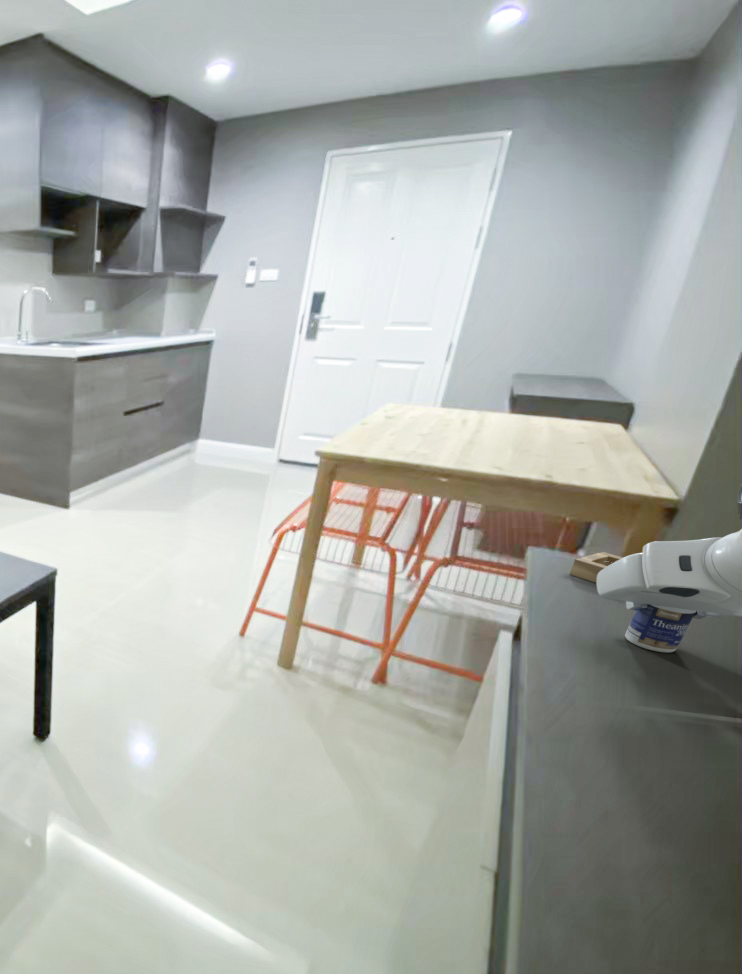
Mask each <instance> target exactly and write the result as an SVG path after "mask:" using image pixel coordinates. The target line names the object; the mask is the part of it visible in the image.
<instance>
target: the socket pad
mask: <svg viewBox="0 0 742 974" xmlns="http://www.w3.org/2000/svg"><path fill="white" fill-rule="evenodd" d="M622 558H624V557H622V556H619V555H615V554H612V553H609V552H605V551H601V552H597V553H594V554H589V555H586V556H581V557H579V558H575V559H574V560H573V564H572V567H571V569H570V572H569V575H570V576H572V577H573V576H574V577H576V578H580V579H583V580H586V581H589V582H592V583H595V584H597V582H596V580H597V574H598V573H599V572H600V571H601V570H602V569H604V568H606V567H607V566H609V565H610V564H612V563H614V562H616V561H618V560H620V559H622ZM604 561H609V562H604ZM611 562H612V563H611Z"/></svg>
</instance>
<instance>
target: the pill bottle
mask: <svg viewBox="0 0 742 974" xmlns="http://www.w3.org/2000/svg"><path fill="white" fill-rule="evenodd" d="M647 606H648V608H646V609H644V610H642V611H637V610H635V612H634V614H633V616H632V618H631V621H630V623H629V625H628V627H627V630H626V632H625V634H624V637H625V639H626V640H627V641H629V642H630V643H631V644H633V645H635V646H636V647H639V648H642V649H645V650H649V651H654V652H657V653H658V652H659V653H673V652H676V650H677V649H678V648H679V646H680V643H681V641H682V639H683V637H684V636H685V634H686V632H687V630H688V628H689V626H690V624H691V622H692V620H693V619H694V618H693V616H694V614H695V613H696V611H695V610H687V609H680V608H672V607H665V606H657V605H650V604H647Z"/></svg>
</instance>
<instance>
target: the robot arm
mask: <svg viewBox="0 0 742 974" xmlns="http://www.w3.org/2000/svg"><path fill="white" fill-rule="evenodd" d="M736 504H737V505H736V506H737V513H738V518H739V520H740V522H742V483H740V486H739V488H738V491H737V494H736ZM596 582H597V583H596V592H597V594H598V596H599V597H601V598H602V599H606V600H613V601H621V602H625V606H626V609H627V610H630V611H636V610H637V611H642V610H644V609H646V608H648V606H647V604H650V605H657V606H665V607H672V608H680V609H687V610H695V611H696V613H695V614H694V616H693V618H692V619H696V620H707V619H709V618H711V617H712V618H713V617H727V616H732V617H733V616H734V617H740V618H742V528H741V529H740V530H738V531H736V532H732V533H730V534H727V535H725V536H723V537H722V536H721V537H720V536H719V537H709V538H701V539H692V540H691V539H690V540H664V541H663V540H661V541H660V540H658V541H650V542H648V543H646V544H644V545H643V547H642V552H637V553H633V554H629V555H626V556H624V557H623V558H622V559H620V560H618V561H616V562H614V563H612V564H610V565H609V566H607V567H606V568H604V569H602V570H601V571H600V572H599V573H598V574H597V580H596Z"/></svg>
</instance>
